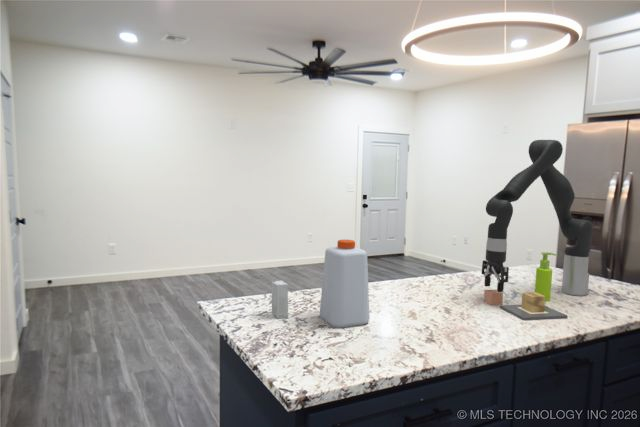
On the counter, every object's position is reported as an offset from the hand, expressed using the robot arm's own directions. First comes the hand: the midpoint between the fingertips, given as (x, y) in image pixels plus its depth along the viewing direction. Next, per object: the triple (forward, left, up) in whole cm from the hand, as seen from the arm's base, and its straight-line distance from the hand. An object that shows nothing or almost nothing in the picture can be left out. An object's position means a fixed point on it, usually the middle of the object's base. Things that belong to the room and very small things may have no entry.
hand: (493, 288), depth 167 cm
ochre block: (-8, +13, -5) cm, 16 cm away
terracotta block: (0, 0, -6) cm, 6 cm away
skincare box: (+87, +4, -6) cm, 87 cm away
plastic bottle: (+65, +11, -6) cm, 66 cm away
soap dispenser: (-25, -2, -6) cm, 26 cm away
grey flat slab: (-8, +13, -6) cm, 16 cm away
